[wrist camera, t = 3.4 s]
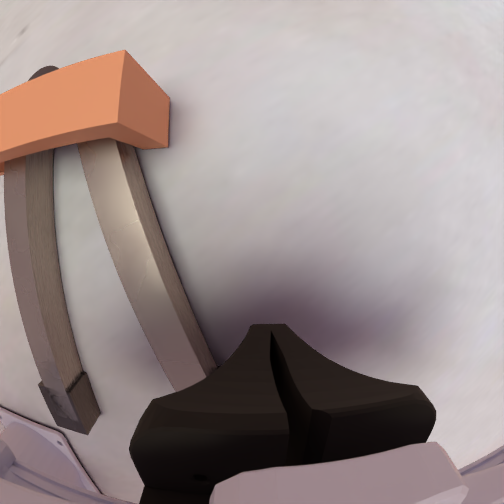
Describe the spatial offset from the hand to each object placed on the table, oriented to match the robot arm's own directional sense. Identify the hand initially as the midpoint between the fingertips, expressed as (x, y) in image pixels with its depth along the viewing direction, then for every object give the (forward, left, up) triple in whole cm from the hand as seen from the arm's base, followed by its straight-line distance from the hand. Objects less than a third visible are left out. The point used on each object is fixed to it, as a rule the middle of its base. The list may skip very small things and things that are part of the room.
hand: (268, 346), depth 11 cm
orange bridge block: (+9, +8, -1) cm, 12 cm away
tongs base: (+3, +9, -1) cm, 10 cm away
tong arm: (+2, +4, -1) cm, 5 cm away
